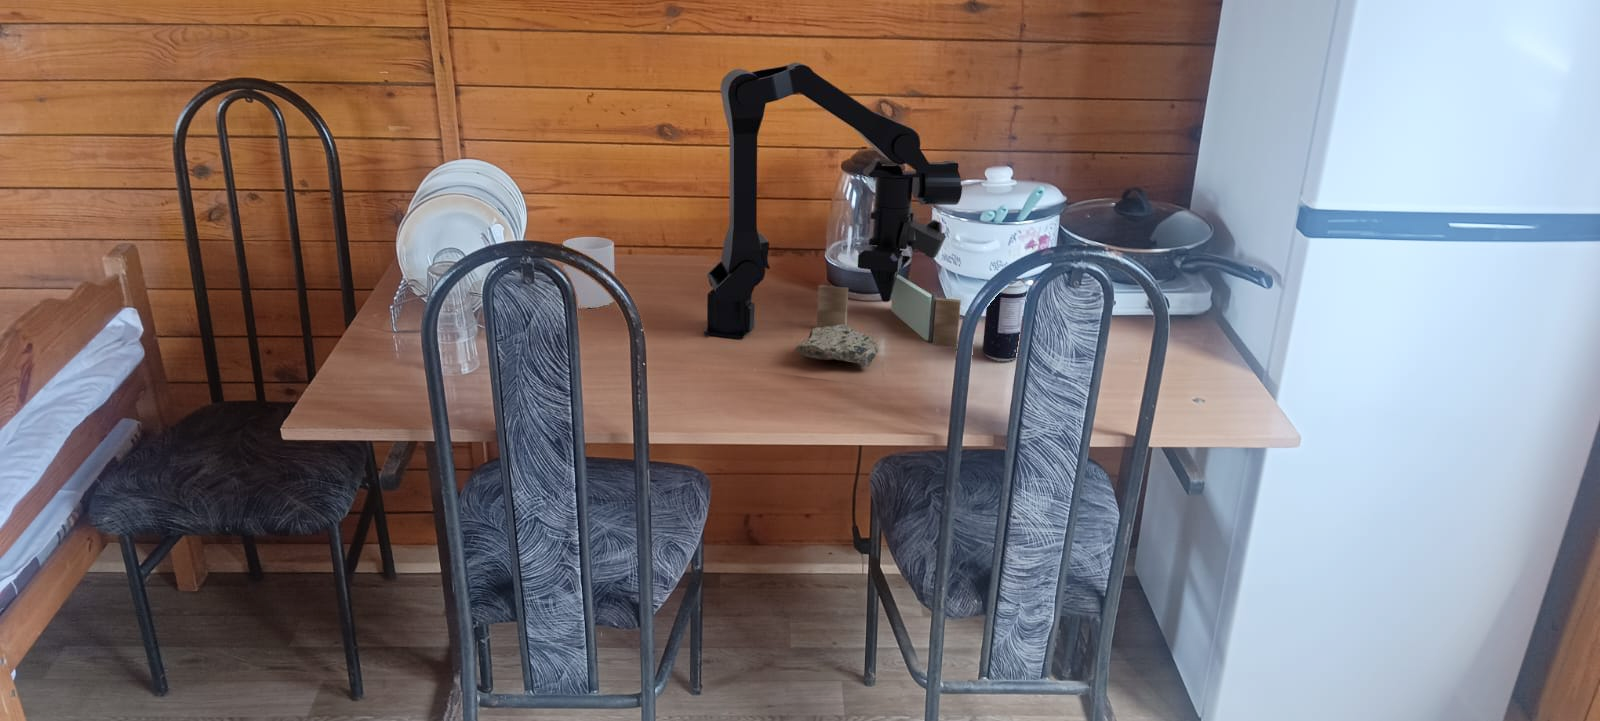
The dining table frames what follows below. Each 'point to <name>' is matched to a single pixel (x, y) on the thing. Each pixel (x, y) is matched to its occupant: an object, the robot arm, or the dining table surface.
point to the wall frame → (941, 314)
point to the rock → (839, 345)
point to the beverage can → (1004, 323)
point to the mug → (584, 285)
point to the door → (912, 305)
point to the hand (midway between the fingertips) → (885, 301)
